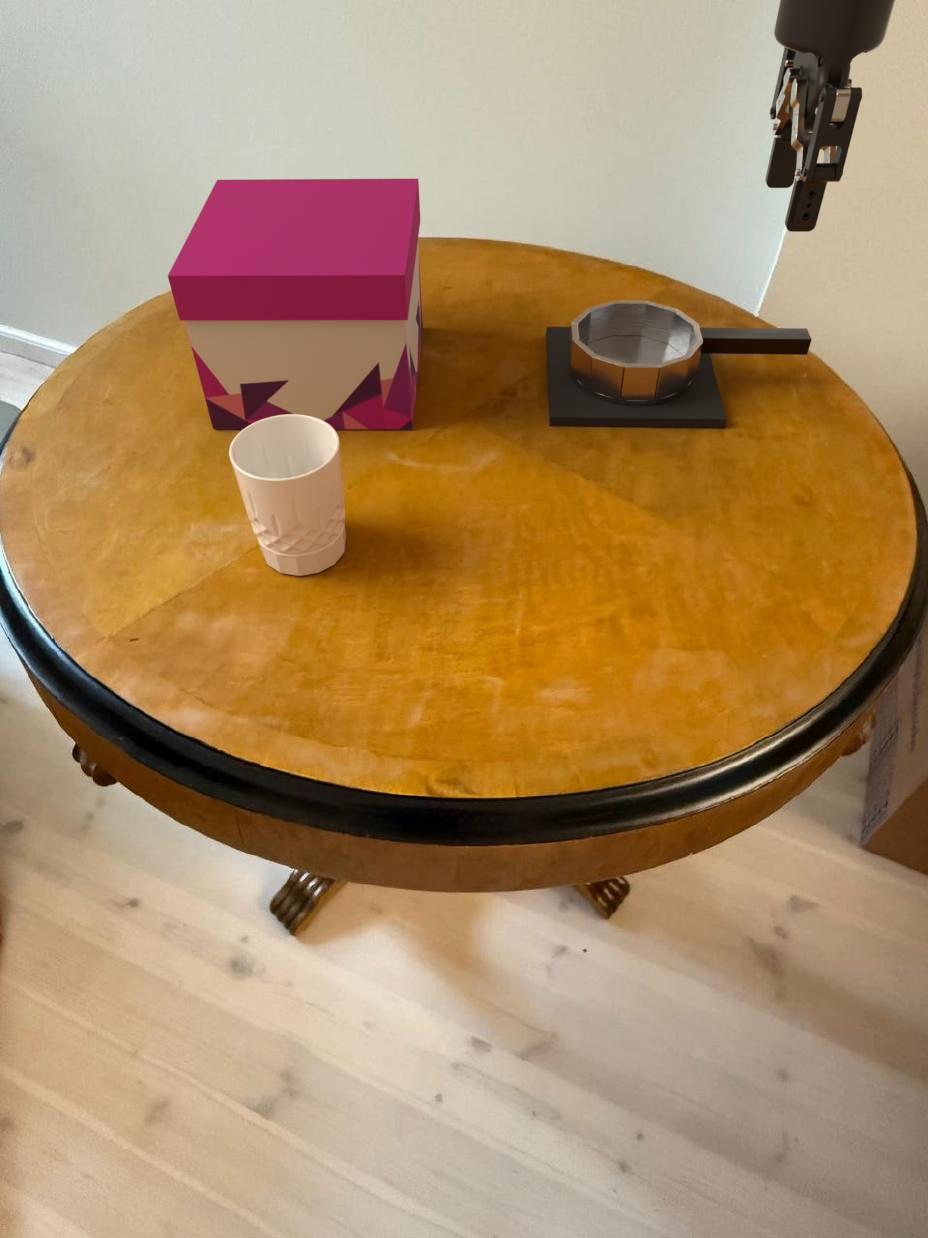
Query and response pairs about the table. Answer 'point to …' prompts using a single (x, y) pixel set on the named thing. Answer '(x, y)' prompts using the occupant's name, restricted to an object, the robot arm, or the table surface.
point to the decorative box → (305, 300)
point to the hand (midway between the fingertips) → (787, 206)
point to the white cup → (292, 491)
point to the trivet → (583, 409)
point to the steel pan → (657, 350)
